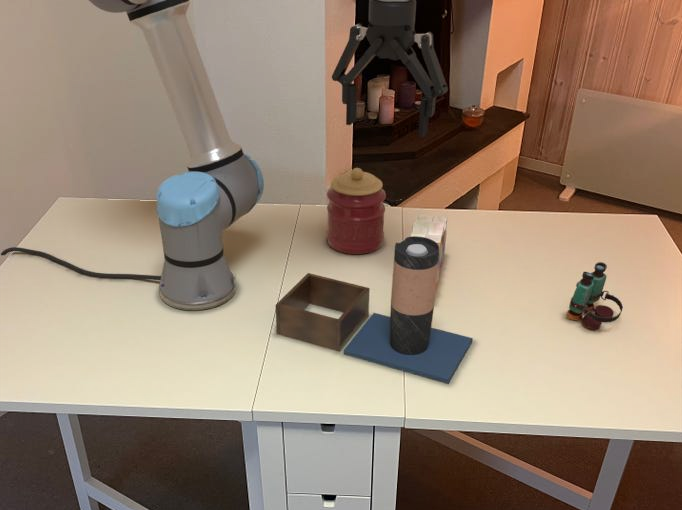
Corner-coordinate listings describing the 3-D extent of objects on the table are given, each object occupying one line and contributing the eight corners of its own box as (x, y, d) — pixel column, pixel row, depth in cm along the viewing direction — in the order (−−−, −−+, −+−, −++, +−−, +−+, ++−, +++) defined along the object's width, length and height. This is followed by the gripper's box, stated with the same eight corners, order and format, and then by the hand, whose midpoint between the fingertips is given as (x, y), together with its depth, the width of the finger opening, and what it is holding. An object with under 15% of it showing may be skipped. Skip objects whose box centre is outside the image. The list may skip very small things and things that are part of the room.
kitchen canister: (390, 252, 169) (394, 177, 158) (334, 258, 166) (334, 182, 156) (374, 227, 179) (377, 155, 169) (321, 232, 177) (321, 159, 166)
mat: (343, 354, 137) (343, 349, 137) (373, 316, 148) (373, 312, 147) (448, 384, 130) (449, 379, 130) (472, 342, 141) (472, 338, 140)
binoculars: (619, 295, 136) (571, 271, 141) (601, 341, 143) (556, 315, 148) (643, 278, 141) (596, 255, 146) (624, 323, 148) (580, 299, 153)
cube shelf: (276, 334, 142) (275, 304, 138) (308, 300, 152) (307, 272, 148) (339, 351, 138) (340, 322, 134) (368, 316, 148) (369, 287, 144)
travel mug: (431, 356, 135) (442, 257, 123) (389, 355, 135) (395, 256, 123) (428, 332, 141) (437, 236, 130) (387, 331, 141) (393, 235, 130)
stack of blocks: (416, 252, 169) (420, 201, 162) (444, 255, 168) (449, 204, 161) (402, 301, 152) (405, 246, 145) (433, 305, 151) (438, 250, 144)
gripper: (312, -7, 122) (313, 124, 134) (460, 9, 113) (447, 147, 126) (332, -15, 127) (331, 111, 140) (475, 0, 119) (460, 133, 131)
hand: (386, 128), depth 133 cm, fingers open, 13 cm apart
